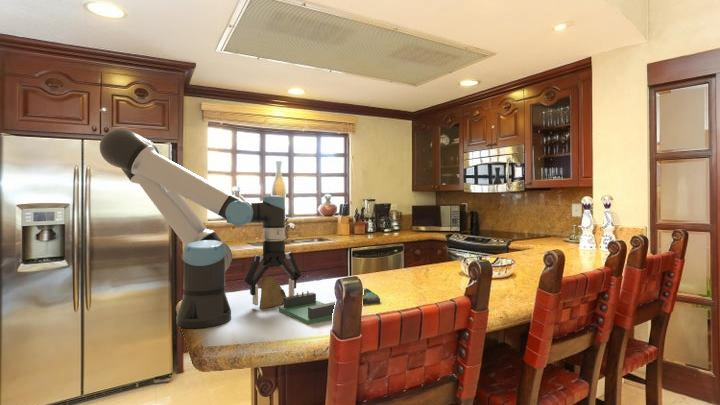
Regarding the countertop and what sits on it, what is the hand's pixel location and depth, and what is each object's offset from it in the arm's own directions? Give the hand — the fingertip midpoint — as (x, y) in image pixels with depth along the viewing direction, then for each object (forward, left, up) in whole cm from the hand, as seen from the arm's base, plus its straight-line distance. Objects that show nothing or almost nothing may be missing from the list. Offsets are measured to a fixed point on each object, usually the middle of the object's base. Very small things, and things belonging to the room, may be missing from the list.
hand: (274, 301), depth 127 cm
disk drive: (+28, -13, -2) cm, 31 cm away
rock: (0, 0, -2) cm, 2 cm away
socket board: (+5, -17, -1) cm, 18 cm away
